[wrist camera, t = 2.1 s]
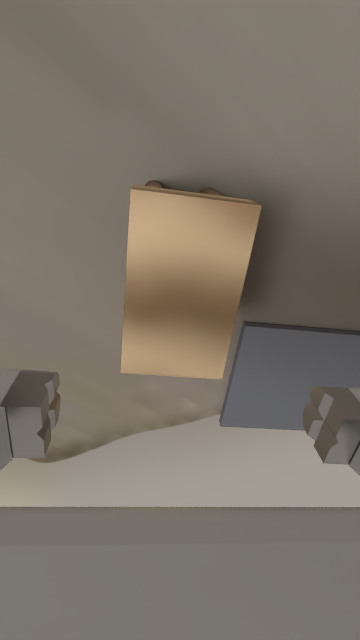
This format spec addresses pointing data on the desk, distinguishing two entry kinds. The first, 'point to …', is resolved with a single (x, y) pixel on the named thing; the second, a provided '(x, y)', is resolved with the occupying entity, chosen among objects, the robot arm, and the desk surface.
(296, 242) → the desk surface
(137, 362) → the oak stool
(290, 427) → the charcoal mat
